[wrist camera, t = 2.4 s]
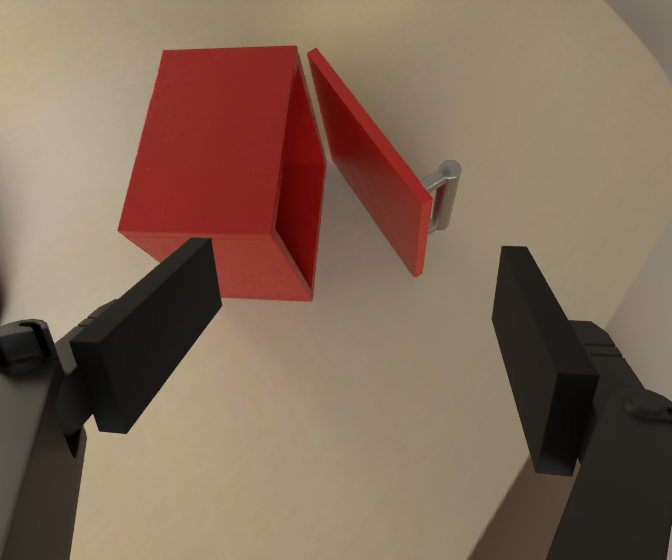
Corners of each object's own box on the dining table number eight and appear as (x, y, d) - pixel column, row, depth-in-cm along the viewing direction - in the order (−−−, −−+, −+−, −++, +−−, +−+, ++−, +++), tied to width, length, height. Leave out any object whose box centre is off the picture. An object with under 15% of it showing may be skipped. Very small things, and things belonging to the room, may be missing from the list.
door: (372, 136, 44) (362, 21, 32) (459, 250, 39) (486, 166, 27) (331, 160, 44) (306, 52, 32) (414, 278, 39) (421, 205, 27)
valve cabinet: (326, 161, 44) (296, 44, 31) (312, 301, 40) (270, 235, 27) (230, 161, 46) (162, 49, 33) (205, 297, 42) (116, 231, 28)
